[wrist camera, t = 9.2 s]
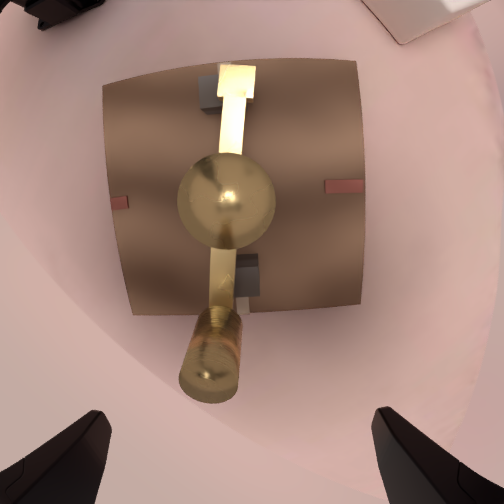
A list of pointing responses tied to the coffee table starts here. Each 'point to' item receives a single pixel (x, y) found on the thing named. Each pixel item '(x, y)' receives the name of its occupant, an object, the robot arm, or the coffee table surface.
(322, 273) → the post base
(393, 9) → the medicine bottle
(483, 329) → the coffee table surface
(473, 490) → the robot arm
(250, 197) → the crank handle
